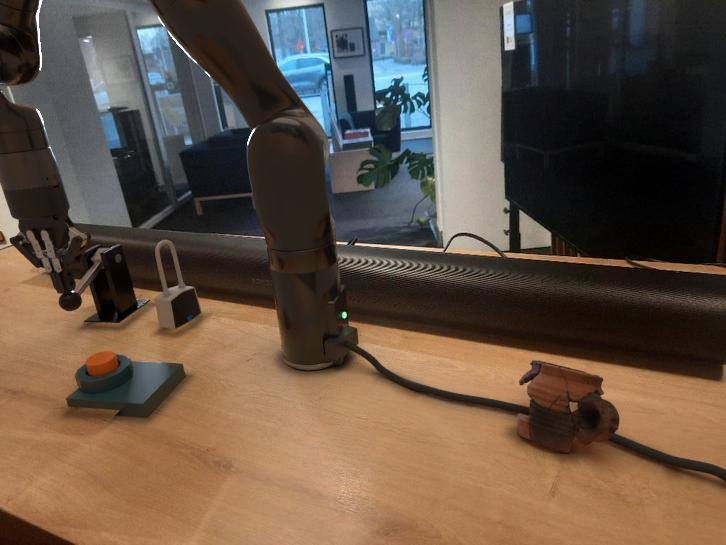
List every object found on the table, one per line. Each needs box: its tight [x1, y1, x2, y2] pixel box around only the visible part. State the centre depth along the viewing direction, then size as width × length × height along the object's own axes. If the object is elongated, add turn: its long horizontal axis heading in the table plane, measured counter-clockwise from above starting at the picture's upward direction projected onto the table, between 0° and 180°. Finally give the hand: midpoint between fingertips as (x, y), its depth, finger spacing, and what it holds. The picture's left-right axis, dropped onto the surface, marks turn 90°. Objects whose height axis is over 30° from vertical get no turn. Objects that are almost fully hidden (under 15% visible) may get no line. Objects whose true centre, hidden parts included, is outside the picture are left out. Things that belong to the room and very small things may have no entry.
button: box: [84, 350, 119, 376], centre depth 64 cm, size 4×4×2 cm
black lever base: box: [81, 244, 151, 324], centre depth 87 cm, size 9×7×13 cm
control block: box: [65, 353, 187, 419], centre depth 65 cm, size 12×9×4 cm
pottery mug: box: [516, 359, 620, 454], centre depth 52 cm, size 12×10×8 cm
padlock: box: [154, 239, 203, 330], centre depth 81 cm, size 7×4×15 cm, turn 155°
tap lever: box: [58, 247, 110, 312], centre depth 82 cm, size 13×3×3 cm, turn 168°
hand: (67, 291), depth 78 cm, fingers closed
